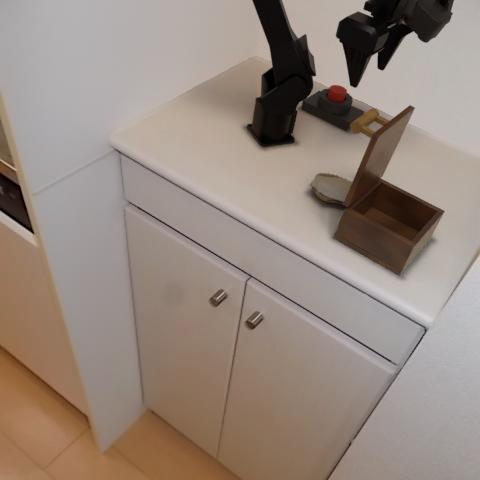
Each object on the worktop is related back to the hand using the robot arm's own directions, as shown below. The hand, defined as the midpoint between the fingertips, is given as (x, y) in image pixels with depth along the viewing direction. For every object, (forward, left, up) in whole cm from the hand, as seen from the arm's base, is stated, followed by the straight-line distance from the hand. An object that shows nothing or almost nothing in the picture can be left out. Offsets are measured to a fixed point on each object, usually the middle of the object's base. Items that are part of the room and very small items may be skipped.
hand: (367, 77), depth 83 cm
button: (+3, +10, -9) cm, 14 cm away
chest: (-8, -23, -12) cm, 27 cm away
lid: (-10, -19, -1) cm, 22 cm away
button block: (+3, +10, -12) cm, 16 cm away
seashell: (-10, -12, -12) cm, 20 cm away
